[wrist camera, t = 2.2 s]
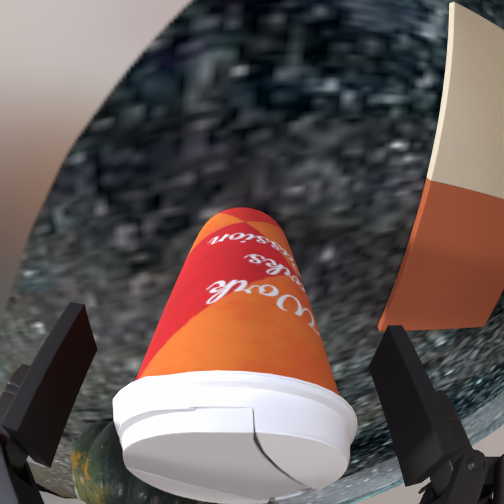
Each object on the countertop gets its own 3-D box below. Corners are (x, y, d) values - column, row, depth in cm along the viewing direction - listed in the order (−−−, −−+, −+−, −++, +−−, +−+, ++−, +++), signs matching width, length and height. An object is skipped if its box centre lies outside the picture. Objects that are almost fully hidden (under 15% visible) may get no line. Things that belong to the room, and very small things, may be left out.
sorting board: (448, 2, 11) (454, 1, 11) (555, 71, 12) (560, 72, 12) (377, 326, 23) (379, 331, 23) (481, 322, 24) (484, 326, 23)
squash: (155, 437, 22) (66, 537, 15) (245, 484, 29) (173, 563, 22) (103, 377, 33) (38, 457, 25) (180, 433, 40) (122, 500, 32)
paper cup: (327, 256, 20) (399, 467, 8) (235, 316, 22) (226, 514, 10) (249, 160, 17) (246, 368, 5) (154, 240, 19) (59, 445, 7)
